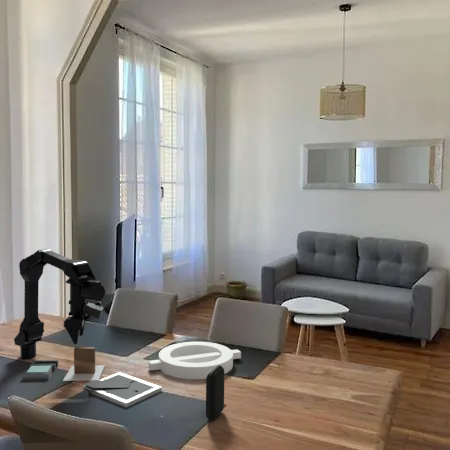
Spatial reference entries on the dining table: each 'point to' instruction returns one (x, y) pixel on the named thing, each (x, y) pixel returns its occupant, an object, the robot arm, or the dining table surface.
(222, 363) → the ring with crossbar
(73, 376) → the board
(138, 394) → the picture frame
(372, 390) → the dining table surface
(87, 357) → the brown flat block
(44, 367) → the offcut upper
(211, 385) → the carrying case or bag
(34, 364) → the rack
